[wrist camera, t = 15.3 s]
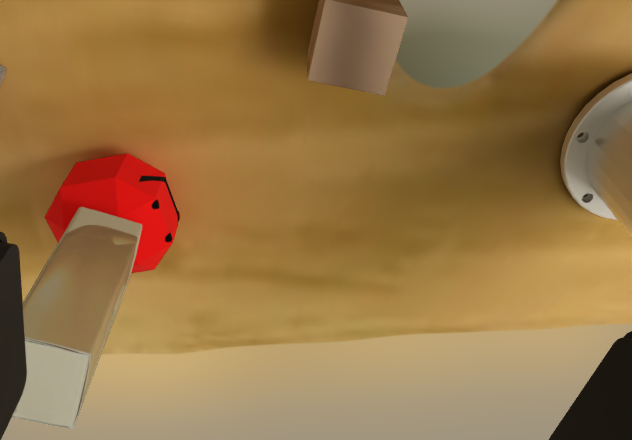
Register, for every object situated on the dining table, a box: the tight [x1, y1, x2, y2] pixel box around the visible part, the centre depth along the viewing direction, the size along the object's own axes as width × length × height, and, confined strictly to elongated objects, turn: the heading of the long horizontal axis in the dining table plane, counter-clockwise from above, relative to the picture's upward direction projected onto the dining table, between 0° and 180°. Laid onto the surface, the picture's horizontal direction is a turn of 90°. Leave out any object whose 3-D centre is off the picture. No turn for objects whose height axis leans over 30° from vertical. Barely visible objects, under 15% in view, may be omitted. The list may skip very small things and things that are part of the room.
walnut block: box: [307, 0, 408, 96], centre depth 39 cm, size 5×5×5 cm
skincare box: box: [12, 207, 142, 429], centre depth 36 cm, size 6×4×12 cm
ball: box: [45, 153, 180, 273], centre depth 44 cm, size 8×8×8 cm
